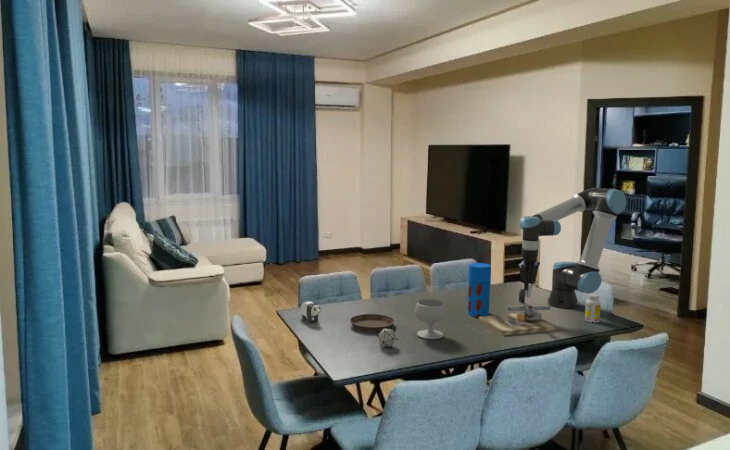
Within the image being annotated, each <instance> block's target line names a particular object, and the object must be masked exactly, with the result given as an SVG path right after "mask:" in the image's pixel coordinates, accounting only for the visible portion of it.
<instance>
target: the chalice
mask: <svg viewBox="0 0 730 450" xmlns="http://www.w3.org/2000/svg"><path fill="white" fill-rule="evenodd" d="M447 313H448V310H447V305H446V304H445V302H444V301H443V300H439V299H435V298H425V299H420V300H418V301H417V302H416V305H415V308H414V314H415V317H416V318H417V319H419V320H420V321H422V322H423V323H425V325H427V327H428V329H422V330H418V331H417V332H416V336H417V337H419V338H422V339H426V340H438V339H442V338H443V337H445V333H443V332H442V331H439V330H436V329H434V325H436V324H438V323H439V322H442V321H443V320H445V319H446V317H447V315H448V314H447Z"/></svg>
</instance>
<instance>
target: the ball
mask: <svg viewBox="0 0 730 450" xmlns="http://www.w3.org/2000/svg"><path fill="white" fill-rule="evenodd" d="M517 319H518V321H524V319H525V316H524V315H523V314H518V315H517Z"/></svg>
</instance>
